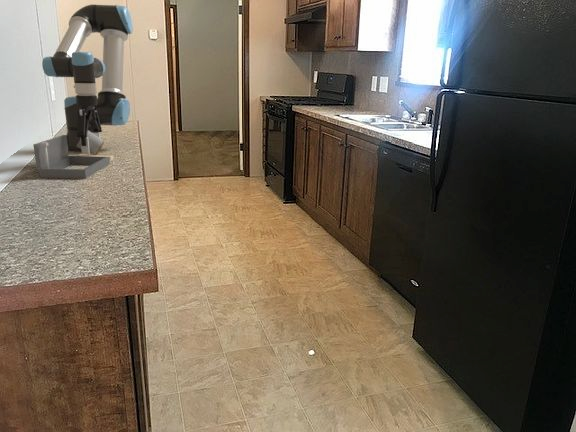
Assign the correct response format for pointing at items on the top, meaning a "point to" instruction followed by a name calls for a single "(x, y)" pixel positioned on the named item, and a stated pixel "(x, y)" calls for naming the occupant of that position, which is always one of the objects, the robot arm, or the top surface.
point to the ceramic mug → (93, 143)
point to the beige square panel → (100, 155)
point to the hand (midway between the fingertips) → (91, 151)
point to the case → (64, 160)
